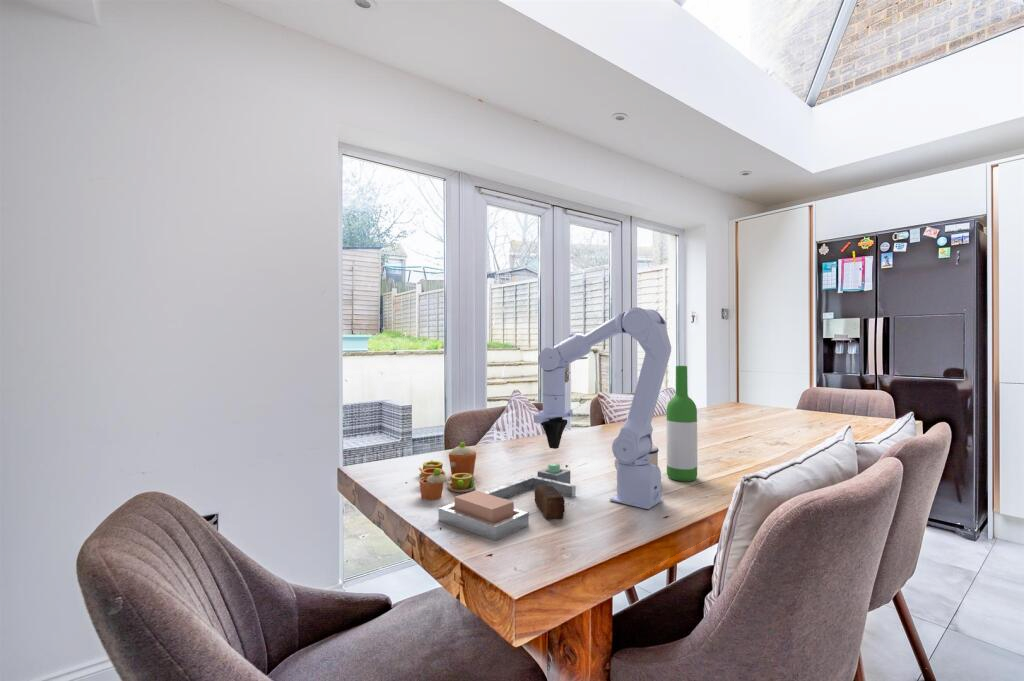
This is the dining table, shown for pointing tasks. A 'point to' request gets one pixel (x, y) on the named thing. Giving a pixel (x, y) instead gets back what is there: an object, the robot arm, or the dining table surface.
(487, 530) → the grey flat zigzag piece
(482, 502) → the twin block
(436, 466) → the toy tea set
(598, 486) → the dining table surface
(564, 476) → the console
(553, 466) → the button
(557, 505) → the brick
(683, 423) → the wine bottle
